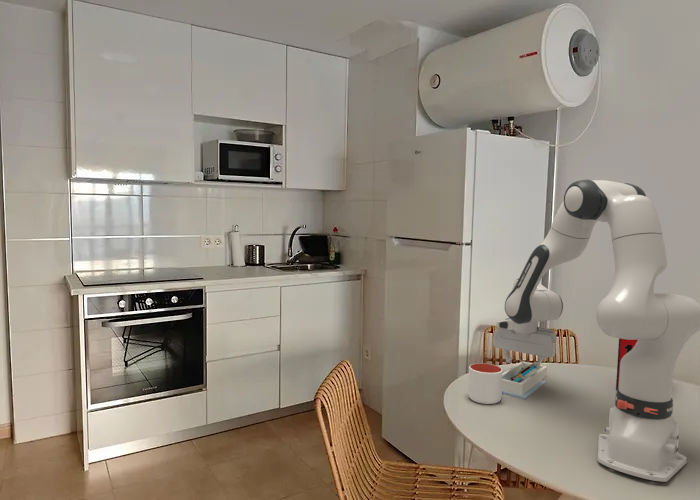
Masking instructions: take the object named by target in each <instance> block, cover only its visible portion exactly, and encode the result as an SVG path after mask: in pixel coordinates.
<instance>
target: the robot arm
mask: <svg viewBox="0 0 700 500" xmlns="http://www.w3.org/2000/svg"><path fill="white" fill-rule="evenodd" d="M597 222H602V223H607V224H608V225H609V228H610V235H611V242H612V252H613V260H614V278H613V281H612V285H611V288H610V290H609V292H608V293H607V295H606V296H605V297H604V298H603V299H602V300H601V301H600V302H599V304H598V306H597V309H596V313H595V315H596V316H595V317H596V321H597V325H598V327H599V329H600V330H601V331H602V332H603V333H604V334H605V335H606V336H608V337H612V338H617V339H619V338H621V339H626V340H638V341H637V343H636V345H635V346H634V347H633V349H632V350H631V351H629V352H628V353H627V354H625V355H624V356H623V358H622V359H621V362H620V374H619V388H618V389H617V391H616V392H615V397H614V398H615V402H614V404H615V405H614V406H612V407H611V408H609V416H608V417H609V418H608V426H605V427H604V432H605V433H600V434H598V439H597V462H598V463H600V464H601V465H603V466H605V467H608V468H610V469H613V470H615V471H616V472H617V471H618V472H621V473H624V474H627V475H630V476H633V477H636V478H641V479H644V480H650V481H653V482H655V481H656V482H662V483H663V482H668V481H669V480H670V479H671V478H673V476H674V475H675V474H676V473H678V472H679V470H680V469H682V468H683V467H684V466H685V465H686V464H687V462H688V461H687V459H688V458H687V456H686V455H684V454H682V453H680V452H679V437H680V435H679V433H680V430H679V429H680V425H679V423H677V422H676V420H675V419H674V418H673V416H672V415H673V410H674V400H673V398H672V390H673V382H674V381H673V379H674V371H675V368H676V364H677V361H678V358H679V356H680V354H681V353H682V350H683V348H684V347H685V345H686V343H687V342H688V341H689V340H690V338H692V336H694V335H695V334H696V333H697V332H699V331H700V304H699V302H698V301H696V300H695V299H694V298H692V297H690V296H687V295H682V294H679V293H674V292H673V293H670V292H664V293H655V292H654V290H655V289H654V288H655V287H654V286H655V283H656V279H657V277H658V276H660V275H661V274H662V273H664V272H665V270H666V269H667V268H668V259H667V253H666V248H665V241H664V235H663V230H662V226H661V221H660V218H659V215H658V213H657V210H656V207H655V205H654V202H653V201H652V200H651V199H650V198H649V197H647V195H646V193H645V191H644V190H643V189H642V188H641V187H640V186H637V185H635V184H632V183H626V182H625V183H624V182H623V183H622V182H618V181H612V180H607V179H606V180H605V179H594V180H593V179H591V180H590V179H582V180H577V181H574V182H572V183H571V184H570V185H568V187H567V188H566V190H565V193H564V195H563V200H562V203H561V204H560V206H559V208H558V209H557V212H556V214H555V216H554V218H553V221H552V222H551V226H550V229H549V231H548V233H547V235H546V236H545V237H544V239H543V240H542V241H541V243H540V244H539V245H538V246H536V247H535V248H534V250H532V252H531V254H530V256H529V258H527V259H528V260H527V261H526V264H525V265H524V267H523V269H522V271H521V274H520V275H519V277H518V278H517V279H515V280H514V283H513V287H512V290H511V291H510V293H509V294H508V295H507V297H506V298H505V301H504V312H505V314H506V315H507V317H508V318H505V319H500V320H498V321H497V322H496V324H495V326H496V329H495V330H494V332H493V337H492V345H493V346H494V348H495V349H500V350H502V354H503V355H504V357H505V363H508V364H511V363H512V362H513V357H512V356H510V354H509V352H510V351H511V352H517V353H520V354H526V355H527V354H528V355H532V356H537V361H535V362H533V363H534V368H536V369H539V368H540V365H541V363H542V362H543V360H544V359H545V358H549V359H550V358H553V357H554V356H555V355H556V350H557V349H556V341H557V333H556V332H555V331H554V330H553V329H552V328H546V327H539V325H540V323H541V322H549V321H555V320H558V319H559V318H560V316H561V315H562V314H563V310H564V303H563V299H562V297H561V296H560V294H559V293H557V292H556V291H552V290H551V289H549V288H547V287H546V286H544V285H543V284H542V283H541V282H542V279H543V277H544V275H545V274H546V273H547V272H548V271H550V270H551V269H553V268H555V267H558V266H559V265H562V264H565V263H567V262H568V263H569V262H571V261H573V260H575V259H577V258H579V257H580V256H582V254H583V252H584V251H585V250H586V248H587V245H588V244H589V241H590V239H591V236H592V232H593V231H594V227H595V225H596V223H597Z"/></svg>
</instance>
